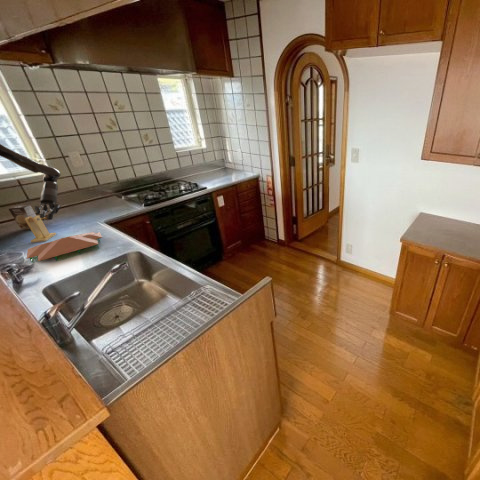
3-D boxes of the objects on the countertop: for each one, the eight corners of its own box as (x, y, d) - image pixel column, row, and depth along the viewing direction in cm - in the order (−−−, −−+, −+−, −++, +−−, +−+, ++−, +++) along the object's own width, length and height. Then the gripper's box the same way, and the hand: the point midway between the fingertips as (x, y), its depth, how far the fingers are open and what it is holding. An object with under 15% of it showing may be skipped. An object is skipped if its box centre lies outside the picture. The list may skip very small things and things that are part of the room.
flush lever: (47, 220, 174) (45, 215, 173) (53, 219, 175) (52, 214, 174) (28, 223, 160) (26, 217, 160) (35, 222, 161) (33, 216, 160)
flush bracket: (42, 235, 171) (30, 214, 164) (56, 234, 173) (44, 213, 166) (31, 242, 163) (17, 221, 156) (46, 241, 164) (33, 219, 157)
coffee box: (20, 230, 180) (6, 208, 172) (28, 226, 186) (15, 205, 178) (35, 229, 181) (22, 207, 174) (42, 225, 187) (30, 204, 179)
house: (106, 247, 155) (100, 234, 151) (29, 269, 135) (20, 256, 131) (101, 235, 170) (95, 223, 166) (30, 253, 150) (22, 241, 146)
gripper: (31, 194, 171) (28, 218, 166) (56, 192, 173) (53, 216, 169) (41, 199, 178) (38, 223, 173) (65, 197, 181) (63, 220, 176)
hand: (46, 219), depth 171 cm, fingers closed on flush lever, 3 cm apart
